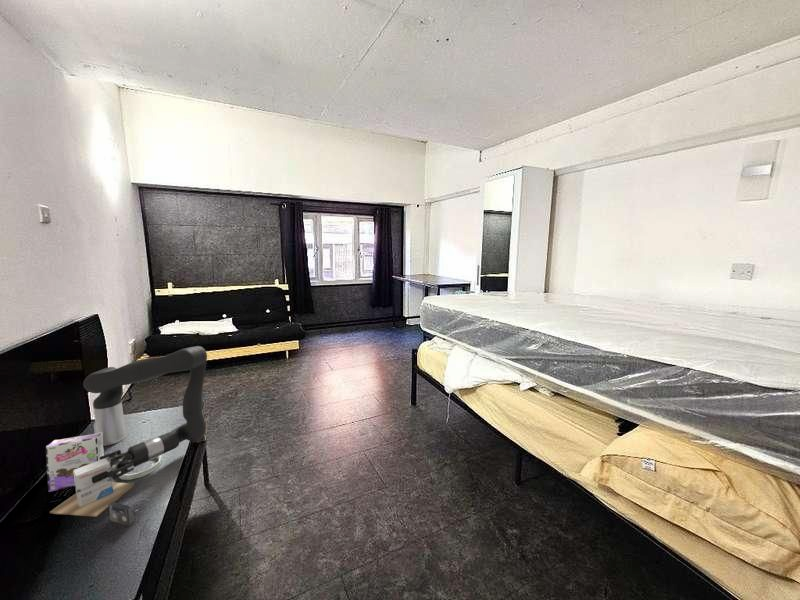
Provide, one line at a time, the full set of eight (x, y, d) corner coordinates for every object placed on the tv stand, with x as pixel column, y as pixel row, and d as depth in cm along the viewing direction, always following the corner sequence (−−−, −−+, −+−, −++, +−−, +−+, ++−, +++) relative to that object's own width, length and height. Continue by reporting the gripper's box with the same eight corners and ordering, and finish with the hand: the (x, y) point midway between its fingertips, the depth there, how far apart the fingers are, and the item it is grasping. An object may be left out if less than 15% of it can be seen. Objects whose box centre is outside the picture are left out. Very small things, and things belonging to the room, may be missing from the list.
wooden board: (49, 513, 103) (49, 511, 102) (93, 482, 116) (93, 480, 116) (96, 516, 102) (96, 515, 102) (134, 485, 116) (134, 483, 115)
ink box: (110, 486, 114) (106, 456, 112) (113, 493, 111) (109, 462, 109) (76, 500, 107) (72, 469, 105) (79, 508, 104) (74, 476, 102)
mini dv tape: (135, 522, 100) (133, 506, 99) (130, 526, 99) (128, 509, 98) (115, 517, 102) (113, 500, 101) (110, 520, 100) (108, 504, 100)
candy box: (47, 492, 110) (44, 446, 109) (56, 484, 115) (53, 439, 115) (99, 481, 116) (96, 437, 116) (105, 473, 121) (103, 431, 121)
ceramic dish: (108, 478, 119) (108, 474, 118) (139, 456, 132) (138, 452, 131) (141, 480, 118) (141, 476, 118) (169, 457, 131) (169, 453, 131)
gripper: (138, 435, 124) (80, 457, 110) (153, 448, 116) (93, 473, 103) (140, 453, 125) (83, 476, 111) (154, 467, 117) (96, 494, 104)
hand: (88, 475), depth 107 cm, fingers open, 8 cm apart
